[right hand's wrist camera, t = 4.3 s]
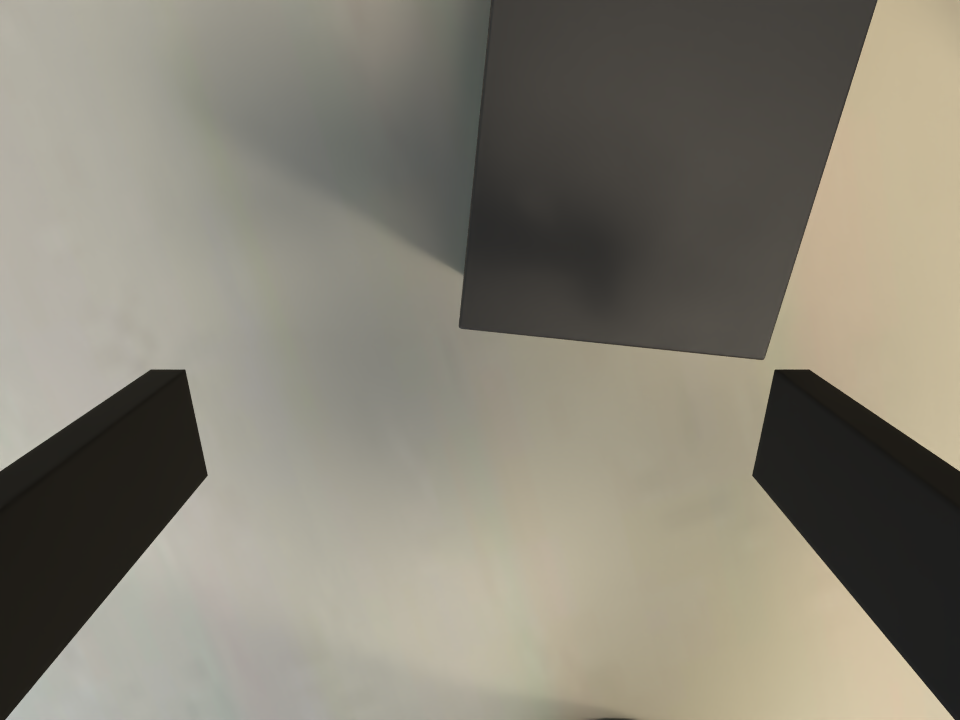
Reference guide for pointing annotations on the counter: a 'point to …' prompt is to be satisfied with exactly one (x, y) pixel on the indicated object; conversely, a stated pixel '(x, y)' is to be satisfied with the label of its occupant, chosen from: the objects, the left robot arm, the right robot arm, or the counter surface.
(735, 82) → the cabinet
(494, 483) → the counter surface
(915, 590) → the right robot arm
